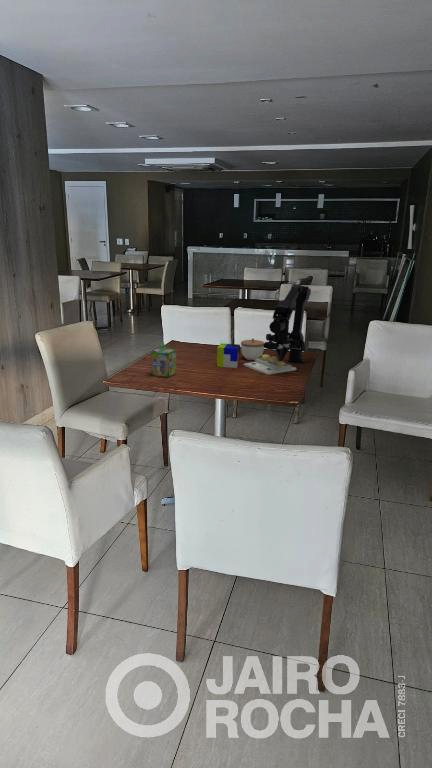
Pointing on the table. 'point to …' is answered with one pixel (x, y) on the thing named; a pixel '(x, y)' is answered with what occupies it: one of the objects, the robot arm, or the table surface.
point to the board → (268, 367)
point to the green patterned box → (163, 361)
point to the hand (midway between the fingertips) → (280, 361)
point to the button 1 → (265, 357)
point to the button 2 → (280, 363)
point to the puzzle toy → (228, 355)
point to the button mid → (273, 360)
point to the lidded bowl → (252, 349)
